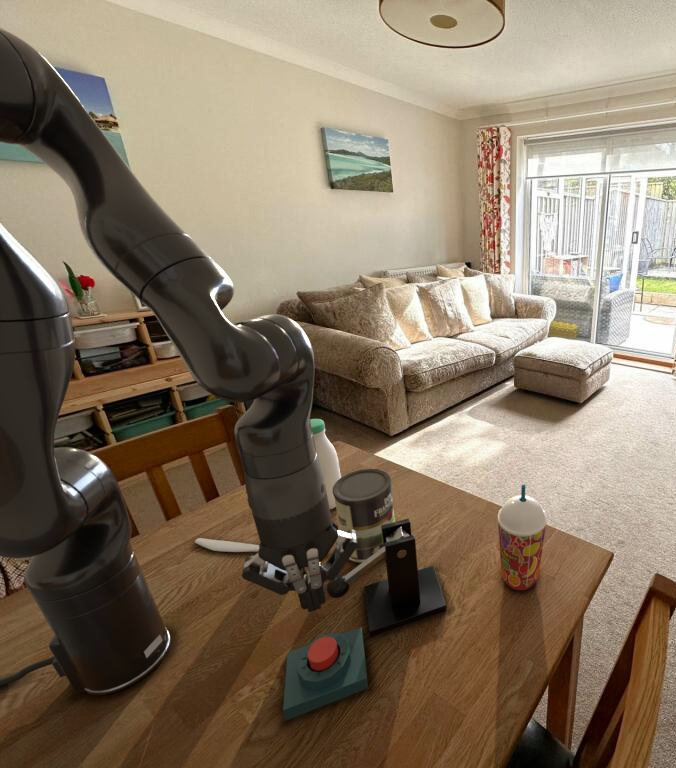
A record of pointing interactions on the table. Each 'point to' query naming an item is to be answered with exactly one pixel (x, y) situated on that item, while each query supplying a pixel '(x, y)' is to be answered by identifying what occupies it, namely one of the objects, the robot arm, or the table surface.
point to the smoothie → (521, 540)
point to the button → (323, 653)
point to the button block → (324, 675)
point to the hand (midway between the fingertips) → (314, 605)
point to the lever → (360, 568)
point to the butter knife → (226, 545)
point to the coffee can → (364, 508)
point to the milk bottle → (326, 458)
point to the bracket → (402, 586)
